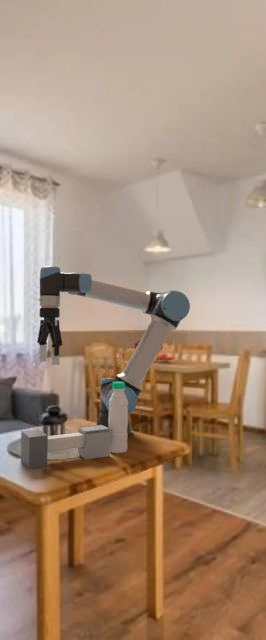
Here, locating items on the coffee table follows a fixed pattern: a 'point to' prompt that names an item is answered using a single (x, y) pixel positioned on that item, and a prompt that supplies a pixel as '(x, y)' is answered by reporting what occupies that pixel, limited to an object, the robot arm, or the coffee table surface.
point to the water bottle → (118, 418)
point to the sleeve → (95, 442)
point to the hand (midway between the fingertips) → (49, 363)
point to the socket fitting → (34, 448)
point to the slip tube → (66, 441)
